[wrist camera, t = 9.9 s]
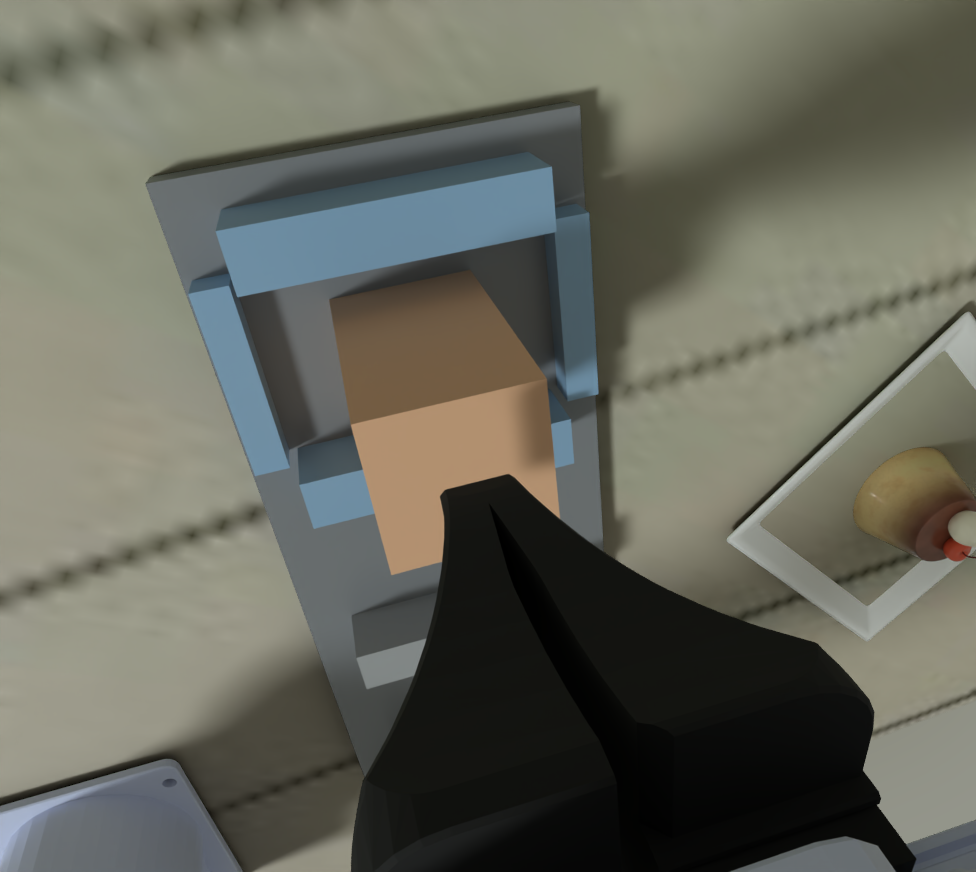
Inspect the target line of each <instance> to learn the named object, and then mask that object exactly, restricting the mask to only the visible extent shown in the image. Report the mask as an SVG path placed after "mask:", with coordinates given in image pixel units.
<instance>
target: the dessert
mask: <svg viewBox="0 0 976 872" xmlns="http://www.w3.org/2000/svg"><path fill="white" fill-rule="evenodd" d="M943 351H945V352H947V353H948V355H949V356H950V357H951V358H952V360H953V361H954V362H955V364H956V365H957V366H958V368H959V369H960V370H961V371H962V373H963V374H964V375H965V377H966V378H967V379H968V381H969V382H970V383H971V384H972V386H973V387H974V388H975V390H976V319H975V318H974V316H973V315H972V313H971V312H966V313H964V314H963V315H962V316H961V317H960V318H959V319H958V320H956V321H955V322H954V323H953V324H952V325H951V326H950V327H949V328H948V329H947V330H946V331H945V332H944V333H943V334H942V335H941V336H940V337H939V338H937V339H936V340H935V341H934V342H933V343H932V344H931V345H930V346H929V347H928V348H927V349H926V350H925V351H924V352H923V353H922V354H921V355H919V356H918V357H917V358H916V359H915V360H914V361H913V362H912V363H911V364H910V365H909V366H908V367H907V368H906V369H905V370H904V371H903V372H902V373H900V374H899V375H898V376H897V377H896V378H895V379H894V380H893V381H892V382H891V383H890V384H889V385H888V386H887V387H886V388H885V389H884V390H882V391H881V392H880V393H879V394H878V395H877V396H876V397H875V398H874V399H873V400H872V401H871V402H870V403H869V404H868V405H867V406H866V407H865V408H863V409H862V410H861V411H860V412H859V413H858V414H857V415H856V416H855V417H854V418H853V419H852V420H851V421H850V422H849V423H848V424H847V425H845V426H844V427H843V428H842V429H841V430H840V431H839V432H838V433H837V434H836V435H835V436H834V437H833V438H832V439H831V440H830V441H829V442H828V443H826V444H825V445H824V446H823V447H822V448H821V449H820V450H819V451H818V452H817V453H816V454H815V455H814V456H813V457H812V458H811V459H810V460H808V461H807V462H806V463H805V464H804V465H803V466H802V467H801V468H800V469H799V470H798V471H797V472H796V473H795V474H794V475H793V476H792V477H791V478H789V479H788V480H787V481H786V482H785V483H784V484H783V485H782V486H781V487H780V488H779V489H778V490H777V491H776V492H775V493H774V494H773V495H771V496H770V497H769V498H768V499H767V500H766V501H765V502H764V503H763V504H762V505H761V506H760V507H759V508H758V509H757V510H756V511H755V512H754V513H752V514H751V515H750V516H749V517H748V518H747V519H746V520H745V521H744V522H743V523H742V524H741V525H740V526H739V527H738V528H737V529H736V530H734V531H733V532H732V533H731V534H730V535H729V537H728V538H727V542H728V543H729V544H731V545H732V546H734V547H735V548H736V549H738V550H739V551H741V552H742V553H743V554H745V555H746V556H748V557H749V558H750V559H752V560H753V561H755V562H756V563H757V564H759V565H760V566H762V567H763V568H764V569H766V570H767V571H768V572H770V573H771V574H773V575H774V576H775V577H777V578H778V579H780V580H781V581H782V582H784V583H785V584H787V585H788V586H789V587H791V588H792V589H794V590H795V591H796V592H798V593H799V594H800V595H802V596H803V597H805V598H806V599H807V600H809V601H810V602H812V603H813V604H814V605H816V606H817V607H819V608H820V609H821V610H823V611H824V612H826V613H827V614H828V615H830V616H831V617H833V618H834V619H835V620H837V621H838V622H839V623H841V624H842V625H844V626H845V627H846V628H848V629H849V630H851V631H852V632H853V633H855V634H856V635H858V636H859V637H860V638H862V639H863V640H865V641H869V640H870V639H871V638H872V637H874V636H875V635H876V634H877V633H878V632H880V631H881V630H882V629H883V628H884V627H885V626H887V625H888V624H889V623H890V622H891V621H893V620H894V619H895V618H896V617H897V616H899V615H900V614H901V613H902V612H903V611H904V610H906V609H907V608H908V607H909V606H910V605H912V604H913V603H914V602H915V601H916V600H918V599H919V598H920V597H921V596H922V595H923V594H925V593H926V592H927V591H928V590H929V589H931V588H932V587H933V586H934V585H935V584H937V583H938V582H939V581H940V580H941V579H942V578H944V577H945V576H946V575H947V574H948V573H950V572H951V571H952V570H953V569H954V568H956V567H957V566H958V565H959V564H960V563H961V562H963V561H964V560H965V559H966V558H967V557H969V558H976V557H971V556H970V555H971V554H972V553H973V552H975V551H976V497H975V496H974V495H973V493H972V492H971V491H970V489H969V488H968V487H967V485H966V484H965V483H964V481H963V480H962V479H961V478H960V476H959V475H958V474H957V472H956V471H955V470H954V468H953V467H952V466H951V464H950V463H949V461H948V460H947V458H946V457H945V455H944V454H943V453H941V452H940V451H938V450H936V449H933V448H928V447H920V448H914V449H910V450H907V451H904V452H902V453H900V454H897V455H896V456H894V457H892V458H890V459H889V460H887V461H886V462H885V463H883V464H882V465H881V466H879V467H878V468H877V469H876V470H875V471H874V472H873V473H872V474H871V475H870V476H869V478H868V479H867V480H866V481H865V483H864V484H863V486H862V487H861V489H860V491H859V493H858V495H857V497H856V500H855V503H854V509H853V516H854V521H855V523H856V525H857V526H858V528H859V529H860V530H862V531H863V532H865V533H867V534H869V535H872V536H874V537H876V538H878V539H880V540H882V541H885V542H887V543H889V544H891V545H893V546H895V547H897V548H899V549H901V550H903V551H905V552H907V553H909V554H911V555H913V556H916V557H918V558H920V559H922V560H921V561H920V562H919V563H918V564H917V565H916V566H914V567H913V568H912V569H911V570H910V571H909V572H907V573H906V574H905V575H904V576H903V577H902V578H900V579H899V580H898V581H897V582H896V583H895V584H893V585H892V586H891V587H890V588H889V589H888V590H887V591H885V592H884V593H883V594H882V595H881V596H880V597H878V598H877V599H876V600H875V601H874V602H873V603H871V604H870V605H868V606H866V605H864V604H863V603H862V602H860V601H859V600H858V599H856V598H855V597H854V596H852V595H851V594H850V593H848V592H847V591H846V590H844V589H843V588H842V587H841V586H839V585H838V584H837V583H835V582H834V581H833V580H831V579H830V578H829V577H827V576H826V575H825V574H823V573H822V572H821V571H819V570H818V569H817V568H815V567H814V566H813V565H812V564H810V563H809V562H808V561H806V560H805V559H804V558H802V557H801V556H800V555H798V554H797V553H796V552H794V551H793V550H792V549H790V548H789V547H788V546H786V545H785V544H784V543H782V542H781V541H780V540H779V539H777V538H776V537H775V536H773V535H772V534H771V533H769V532H768V531H767V530H765V529H764V528H763V527H761V526H760V522H761V521H762V520H763V519H764V518H765V517H766V516H767V515H768V514H769V513H770V512H771V511H772V510H773V509H774V508H775V507H776V506H778V505H779V504H780V503H781V502H782V501H783V500H784V499H785V498H786V497H787V496H788V495H789V494H790V493H791V492H792V491H794V490H795V489H796V488H797V487H798V486H799V485H800V484H801V483H802V482H803V481H804V480H805V479H806V478H807V477H808V476H810V475H811V474H812V473H813V472H814V471H815V470H816V469H817V468H818V467H819V466H820V465H821V464H822V463H823V462H824V461H825V460H827V459H828V458H829V457H830V456H831V455H832V454H833V453H834V452H835V451H836V450H837V449H838V448H839V447H840V446H841V445H843V444H844V443H845V442H846V441H847V440H848V439H849V438H850V437H851V436H852V435H853V434H854V433H855V432H856V431H857V430H859V429H860V428H861V427H862V426H863V425H864V424H865V423H866V422H867V421H868V420H869V419H870V418H871V417H872V416H873V415H875V414H876V413H877V412H878V411H879V410H880V409H881V408H882V407H883V406H884V405H885V404H886V403H887V402H888V401H889V400H891V399H892V398H893V397H894V396H895V395H896V394H897V393H898V392H899V391H900V390H901V389H902V388H903V387H904V386H905V385H906V384H908V383H909V382H910V381H911V380H912V379H913V378H914V377H915V376H916V375H917V374H918V373H919V372H920V371H921V370H922V369H924V368H925V367H926V366H927V365H928V364H929V363H930V362H931V361H932V360H933V359H934V358H935V357H936V356H937V355H938V354H940V353H941V352H943Z"/></svg>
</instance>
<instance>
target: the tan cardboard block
mask: <svg viewBox="0 0 976 872" xmlns="http://www.w3.org/2000/svg"><path fill="white" fill-rule="evenodd" d="M329 303H330V308H331V314H332V320H333V326H334V331H335V337H336V343H337V349H338V354H339V360H340V366H341V372H342V377H343V383H344V389H345V395H346V401H347V406H348V412H349V418H350V424H351V428H352V431H353V435H354V439H355V442H356V446H357V450H358V454H359V457H360V461H361V465H362V468H363V472H364V476H365V479H366V483H367V487H368V490H369V494H370V498H371V502H372V505H373V509H374V513H375V516H376V520H377V524H378V527H379V531H380V535H381V539H382V542H383V546H384V550H385V553H386V557H387V561H388V564H389V568H390V572H391V575H394V574H398V573H401V572H405V571H409V570H413V569H416V568H420V567H424V566H428V565H432V564H435V563H439V562H442V557H443V545H444V515H443V510H442V505H441V500H440V495H441V494H442V493H443V491H444V490H446V489H450V488H454V487H458V486H462V485H466V484H470V483H474V482H478V481H482V480H486V479H490V478H494V477H498V476H502V475H506V474H510V475H511V476H513V477H515V478H516V479H517V480H518V481H519V482H520V483H521V484H522V485H523V486H524V487H525V488H526V489H527V490H528V491H529V492H530V493H531V494H532V495H533V496H534V497H535V498H536V499H538V500H539V501H540V502H541V503H542V504H543V505H544V506H545V507H547V508H548V509H549V510H550V511H551V512H552V513H553V514H555V515H556V516H557V517H558V518H559V519H560V513H559V502H558V492H557V481H556V471H555V460H554V450H553V439H552V429H551V418H550V408H549V397H548V387H547V378H546V377H545V375H544V374H543V373H542V371H541V370H540V368H539V367H538V365H537V364H536V363H535V361H534V360H533V358H532V357H531V355H530V354H529V353H528V351H527V350H526V348H525V347H524V346H523V344H522V343H521V341H520V340H519V338H518V337H517V336H516V334H515V333H514V331H513V330H512V328H511V327H510V326H509V324H508V323H507V321H506V320H505V318H504V317H503V316H502V314H501V313H500V311H499V310H498V309H497V307H496V306H495V304H494V303H493V301H492V300H491V299H490V297H489V296H488V294H487V293H486V291H485V290H484V289H483V287H482V286H481V284H480V283H479V282H478V280H477V279H476V277H475V276H474V274H473V273H472V272H471V270H467V271H462V272H457V273H452V274H448V275H443V276H438V277H434V278H429V279H424V280H419V281H415V282H410V283H405V284H400V285H396V286H391V287H386V288H381V289H377V290H372V291H367V292H362V293H358V294H353V295H348V296H344V297H339V298H334V299H329Z"/></svg>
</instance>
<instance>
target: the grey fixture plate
mask: <svg viewBox="0 0 976 872" xmlns="http://www.w3.org/2000/svg"><path fill="white" fill-rule="evenodd" d="M146 187H147V190H148V192H149V195H150V198H151V200H152V203H153V206H154V209H155V211H156V214H157V217H158V219H159V222H160V225H161V228H162V230H163V233H164V236H165V238H166V241H167V244H168V246H169V249H170V252H171V255H172V257H173V260H174V263H175V265H176V268H177V271H178V274H179V276H180V279H181V282H182V284H183V287H184V290H185V292H186V295H187V298H188V301H189V303H190V306H191V309H192V311H193V314H194V317H195V320H196V322H197V325H198V328H199V330H200V333H201V336H202V338H203V341H204V344H205V347H206V349H207V352H208V355H209V357H210V360H211V363H212V366H213V368H214V371H215V374H216V376H217V379H218V382H219V384H220V387H221V390H222V393H223V395H224V398H225V401H226V403H227V406H228V409H229V412H230V414H231V417H232V420H233V422H234V425H235V428H236V430H237V433H238V436H239V439H240V441H241V444H242V447H243V449H244V452H245V455H246V458H247V460H248V463H249V466H250V468H251V471H252V474H253V476H254V479H255V482H256V485H257V487H258V490H259V493H260V495H261V498H262V501H263V504H264V506H265V509H266V512H267V514H268V517H269V520H270V522H271V525H272V528H273V531H274V533H275V536H276V539H277V541H278V544H279V547H280V550H281V552H282V555H283V558H284V560H285V563H286V566H287V569H288V571H289V574H290V577H291V579H292V582H293V585H294V587H295V590H296V593H297V596H298V598H299V601H300V604H301V606H302V609H303V612H304V615H305V617H306V620H307V623H308V625H309V628H310V631H311V633H312V636H313V639H314V642H315V644H316V647H317V650H318V652H319V655H320V658H321V661H322V663H323V666H324V669H325V671H326V674H327V677H328V679H329V682H330V685H331V688H332V690H333V693H334V696H335V698H336V701H337V704H338V707H339V709H340V712H341V715H342V717H343V720H344V723H345V725H346V728H347V731H348V734H349V736H350V739H351V742H352V744H353V747H354V750H355V753H356V755H357V758H358V761H359V763H360V766H361V769H362V771H363V774H364V777H365V776H366V774H367V773H368V771H369V769H370V767H371V765H372V763H373V762H374V760H375V758H376V756H377V754H378V753H379V751H380V749H381V747H382V745H383V744H384V742H385V740H386V738H387V736H388V734H389V732H390V730H391V728H392V726H393V724H394V721H395V719H396V717H397V715H398V712H399V710H400V708H401V706H402V703H403V701H404V699H405V697H406V694H407V692H408V690H409V688H410V685H411V682H412V680H413V677H414V675H415V672H416V669H417V666H418V663H419V660H420V657H421V654H422V651H423V648H424V645H425V642H426V638H427V635H428V631H429V628H430V624H431V620H432V616H433V612H434V607H435V603H436V597H437V592H438V586H439V580H440V574H441V567H442V562H439V563H435V564H432V565H428V566H424V567H420V568H416V569H413V570H409V571H405V572H401V573H398V574H394V575H391V572H390V568H389V564H388V561H387V557H386V553H385V550H384V546H383V542H382V539H381V535H380V531H379V527H378V524H377V520H376V516H375V513H374V509H373V505H372V502H371V498H370V494H369V490H368V487H367V483H366V479H365V476H364V472H363V468H362V465H361V461H360V457H359V454H358V450H357V446H356V442H355V439H354V435H353V431H352V428H351V424H350V418H349V412H348V406H347V401H346V395H345V389H344V383H343V377H342V372H341V366H340V360H339V354H338V349H337V343H336V337H335V331H334V326H333V320H332V314H331V308H330V303H329V299H334V298H339V297H344V296H348V295H353V294H358V293H362V292H367V291H372V290H377V289H381V288H386V287H391V286H396V285H400V284H405V283H410V282H415V281H419V280H424V279H429V278H434V277H438V276H443V275H448V274H452V273H457V272H462V271H467V270H471V272H472V273H473V274H474V276H475V277H476V279H477V280H478V282H479V283H480V284H481V286H482V287H483V289H484V290H485V291H486V293H487V294H488V296H489V297H490V299H491V300H492V301H493V303H494V304H495V306H496V307H497V309H498V310H499V311H500V313H501V314H502V316H503V317H504V318H505V320H506V321H507V323H508V324H509V326H510V327H511V328H512V330H513V331H514V333H515V334H516V336H517V337H518V338H519V340H520V341H521V343H522V344H523V346H524V347H525V348H526V350H527V351H528V353H529V354H530V355H531V357H532V358H533V360H534V361H535V363H536V364H537V365H538V367H539V368H540V370H541V371H542V373H543V374H544V375H545V377H546V378H547V387H548V397H549V408H550V418H551V429H552V439H553V450H554V460H555V471H556V481H557V492H558V502H559V513H560V519H561V520H562V521H563V522H564V523H566V524H567V525H568V526H570V527H571V528H572V529H573V530H575V531H576V532H577V533H578V534H580V535H581V536H582V537H584V538H585V539H586V540H588V541H589V542H590V543H592V544H593V545H595V546H596V547H597V548H599V549H600V550H602V551H603V552H604V549H603V530H602V511H601V492H600V474H599V455H598V436H597V417H596V398H595V395H597V394H598V374H597V354H596V335H595V315H594V295H593V275H592V255H591V235H590V216H589V212H588V211H586V210H585V191H584V173H583V154H582V135H581V116H580V105H578V104H575V103H572V102H564V103H559V104H553V105H548V106H542V107H536V108H531V109H525V110H520V111H514V112H509V113H503V114H497V115H492V116H486V117H481V118H475V119H470V120H464V121H459V122H453V123H447V124H442V125H436V126H431V127H425V128H420V129H414V130H409V131H403V132H397V133H392V134H386V135H381V136H375V137H370V138H364V139H358V140H353V141H347V142H342V143H336V144H331V145H325V146H320V147H314V148H308V149H303V150H297V151H292V152H286V153H281V154H275V155H270V156H264V157H258V158H253V159H247V160H242V161H236V162H231V163H225V164H219V165H214V166H208V167H203V168H197V169H192V170H186V171H181V172H175V173H169V174H164V175H158V176H153V177H150V178H149V179H148V181H147V182H146Z"/></svg>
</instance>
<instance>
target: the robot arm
mask: <svg viewBox="0 0 976 872" xmlns="http://www.w3.org/2000/svg"><path fill="white" fill-rule="evenodd" d="M440 500H441V505H442V510H443V515H444V545H443V557H442V567H441V574H440V580H439V586H438V592H437V597H436V603H435V607H434V612H433V616H432V620H431V624H430V628H429V631H428V635H427V638H426V642H425V645H424V648H423V651H422V654H421V657H420V660H419V663H418V666H417V669H416V672H415V675H414V677H413V680H412V682H411V685H410V688H409V690H408V692H407V694H406V697H405V699H404V701H403V703H402V706H401V708H400V710H399V712H398V715H397V717H396V719H395V721H394V724H393V726H392V728H391V730H390V732H389V734H388V736H387V738H386V740H385V742H384V744H383V745H382V747H381V749H380V751H379V753H378V754H377V756H376V758H375V760H374V762H373V763H372V765H371V767H370V769H369V771H368V773H367V774H366V776H365V778H364V780H363V783H362V787H361V792H360V798H359V803H358V808H357V814H356V820H355V826H354V833H353V843H352V857H351V872H976V820H974V821H971V822H968V823H965V824H962V825H959V826H957V827H954V828H951V829H948V830H945V831H942V832H940V833H937V834H934V835H931V836H928V837H926V838H923V839H920V840H917V841H914V842H911V843H908V844H905V843H904V841H903V840H902V839H901V837H900V836H899V834H898V833H897V832H896V830H895V829H894V828H893V826H892V825H891V824H890V822H889V821H888V820H887V818H886V817H885V816H884V814H883V813H882V812H881V810H880V809H879V807H878V806H877V804H879V803H880V800H881V797H880V795H879V791H878V790H877V789H876V787H875V786H874V785H873V783H872V782H871V781H870V779H869V778H868V777H867V775H866V774H865V773H864V772H863V767H864V763H865V759H866V755H867V751H868V747H869V743H870V739H871V735H872V731H873V724H874V710H873V707H872V705H871V703H870V700H869V698H868V697H867V696H866V695H865V694H864V692H863V691H862V690H861V689H860V688H859V687H858V685H857V684H856V683H855V682H854V681H853V679H852V678H851V677H850V676H849V675H848V674H847V673H846V672H845V671H844V669H843V668H842V667H841V666H840V665H839V664H838V663H837V662H836V661H835V660H834V659H832V658H831V657H830V656H829V655H828V654H827V653H826V652H825V651H824V650H823V649H822V648H821V647H820V646H819V645H818V644H817V643H815V642H811V641H808V640H804V639H801V638H797V637H794V636H790V635H787V634H783V633H780V632H776V631H773V630H769V629H766V628H762V627H759V626H756V625H753V624H750V623H747V622H745V621H742V620H739V619H736V618H733V617H731V616H728V615H725V614H722V613H720V612H717V611H715V610H712V609H710V608H707V607H705V606H703V605H700V604H698V603H696V602H694V601H692V600H689V599H687V598H685V597H683V596H680V595H678V594H676V593H674V592H672V591H669V590H667V589H665V588H663V587H661V586H660V585H658V584H656V583H654V582H652V581H650V580H648V579H647V578H645V577H643V576H641V575H640V574H638V573H636V572H634V571H633V570H631V569H629V568H628V567H626V566H625V565H623V564H621V563H620V562H618V561H617V560H615V559H614V558H612V557H611V556H609V555H608V554H606V553H605V552H603V551H602V550H600V549H599V548H597V547H596V546H595V545H593V544H592V543H590V542H589V541H588V540H586V539H585V538H584V537H582V536H581V535H580V534H578V533H577V532H576V531H575V530H573V529H572V528H571V527H570V526H568V525H567V524H566V523H564V522H563V521H562V520H561V519H559V518H558V517H557V516H556V515H555V514H553V513H552V512H551V511H550V510H549V509H548V508H547V507H545V506H544V505H543V504H542V503H541V502H540V501H539V500H538V499H536V498H535V497H534V496H533V495H532V494H531V493H530V492H529V491H528V490H527V489H526V488H525V487H524V486H523V485H522V484H521V483H520V482H519V481H518V480H517V479H516V478H515V477H513V476H511V475H510V474H506V475H502V476H498V477H494V478H490V479H486V480H482V481H478V482H474V483H470V484H466V485H462V486H458V487H454V488H450V489H446V490H444V491H443V493H442V494H441V495H440ZM0 872H243V871H242V869H241V867H240V866H239V864H238V862H237V860H236V859H235V857H234V855H233V854H232V852H231V850H230V849H229V847H228V845H227V844H226V842H225V840H224V839H223V837H222V835H221V834H220V832H219V830H218V828H217V827H216V825H215V823H214V822H213V820H212V818H211V817H210V815H209V813H208V812H207V810H206V808H205V807H204V805H203V803H202V801H201V800H200V798H199V796H198V795H197V793H196V791H195V790H194V788H193V786H192V785H191V783H190V781H189V780H188V778H187V776H186V775H185V773H184V771H183V769H182V768H181V766H180V764H179V763H178V762H177V761H175V760H172V759H162V760H158V761H155V762H151V763H148V764H144V765H141V766H138V767H134V768H131V769H127V770H124V771H120V772H117V773H113V774H110V775H106V776H103V777H99V778H96V779H92V780H89V781H85V782H82V783H78V784H75V785H71V786H68V787H64V788H61V789H57V790H54V791H50V792H47V793H43V794H40V795H36V796H33V797H30V798H26V799H23V800H19V801H16V802H12V803H9V804H5V805H2V806H0Z"/></svg>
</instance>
